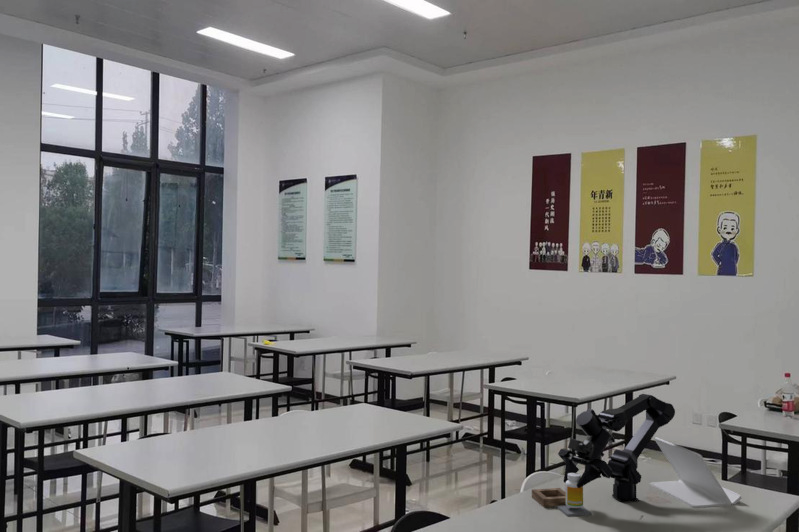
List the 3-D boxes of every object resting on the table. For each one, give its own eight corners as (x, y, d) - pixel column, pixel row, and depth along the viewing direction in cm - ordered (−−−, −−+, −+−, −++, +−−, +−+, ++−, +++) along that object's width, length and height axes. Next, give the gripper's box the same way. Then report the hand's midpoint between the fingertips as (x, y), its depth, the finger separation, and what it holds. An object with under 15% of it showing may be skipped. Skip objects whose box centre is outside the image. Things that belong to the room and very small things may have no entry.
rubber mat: (580, 506, 214) (580, 504, 214) (591, 514, 206) (591, 512, 206) (556, 507, 212) (556, 505, 212) (567, 516, 204) (567, 514, 204)
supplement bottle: (586, 507, 207) (586, 476, 207) (570, 509, 206) (570, 477, 206) (578, 502, 212) (577, 471, 213) (562, 503, 211) (562, 472, 211)
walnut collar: (559, 495, 224) (559, 487, 224) (572, 505, 214) (572, 497, 214) (531, 497, 222) (531, 489, 222) (543, 507, 213) (543, 499, 213)
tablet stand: (693, 508, 213) (693, 454, 213) (648, 484, 237) (648, 436, 237) (743, 504, 217) (742, 452, 217) (693, 481, 241) (693, 434, 241)
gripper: (561, 423, 220) (536, 462, 214) (605, 435, 204) (579, 477, 198) (579, 444, 224) (555, 482, 218) (623, 457, 207) (598, 499, 202)
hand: (571, 484), depth 209 cm, fingers closed on supplement bottle, 5 cm apart
